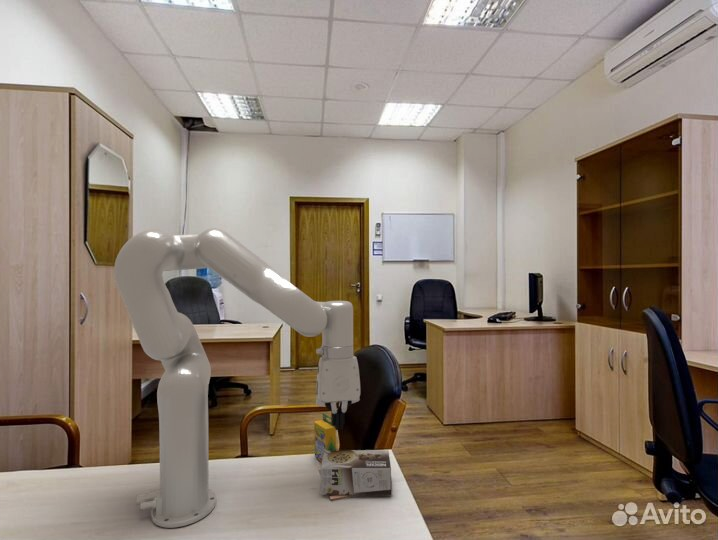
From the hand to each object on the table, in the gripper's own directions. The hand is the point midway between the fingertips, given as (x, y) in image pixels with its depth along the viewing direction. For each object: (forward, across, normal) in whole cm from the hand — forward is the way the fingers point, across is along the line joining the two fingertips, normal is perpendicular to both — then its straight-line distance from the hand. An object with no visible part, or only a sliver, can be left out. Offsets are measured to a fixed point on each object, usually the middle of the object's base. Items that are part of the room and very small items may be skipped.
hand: (338, 427), depth 91 cm
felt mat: (+13, +2, 0) cm, 13 cm away
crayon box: (+13, -1, +10) cm, 17 cm away
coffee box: (+10, -4, -1) cm, 10 cm away
